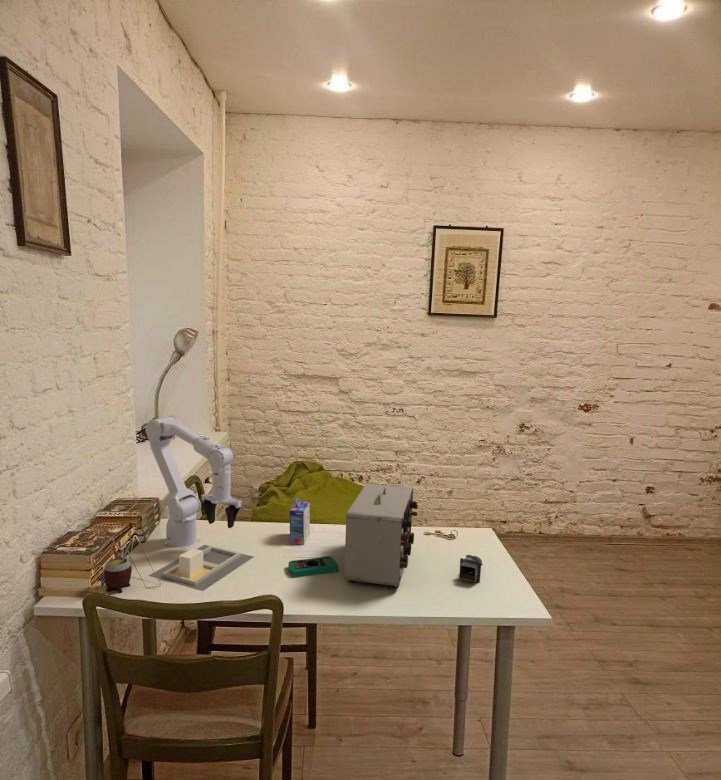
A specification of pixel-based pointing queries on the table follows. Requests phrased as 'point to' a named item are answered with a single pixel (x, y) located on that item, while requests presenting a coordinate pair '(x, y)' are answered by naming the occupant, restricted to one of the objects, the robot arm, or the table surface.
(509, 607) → the table surface
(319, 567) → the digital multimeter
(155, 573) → the grey flat tray
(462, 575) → the ethernet keystone jack
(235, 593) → the table surface
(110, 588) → the mate gourd
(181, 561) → the plug
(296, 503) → the ink cartridge box
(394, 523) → the vintage electronic device
